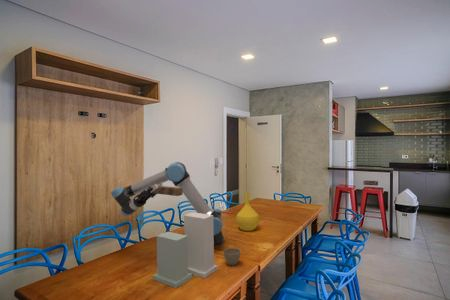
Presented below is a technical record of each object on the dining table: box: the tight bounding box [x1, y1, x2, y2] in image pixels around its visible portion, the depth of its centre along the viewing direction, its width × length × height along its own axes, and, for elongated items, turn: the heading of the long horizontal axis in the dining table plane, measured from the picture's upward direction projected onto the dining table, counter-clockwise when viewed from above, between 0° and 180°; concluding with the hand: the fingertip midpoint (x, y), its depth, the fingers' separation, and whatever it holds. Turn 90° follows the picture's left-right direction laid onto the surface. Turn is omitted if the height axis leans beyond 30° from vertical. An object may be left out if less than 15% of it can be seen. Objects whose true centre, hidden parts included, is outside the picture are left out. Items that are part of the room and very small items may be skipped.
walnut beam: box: [148, 185, 184, 197], centre depth 154 cm, size 24×4×4 cm, turn 56°
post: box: [152, 231, 193, 289], centre depth 136 cm, size 16×12×22 cm
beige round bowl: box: [222, 247, 242, 266], centre depth 153 cm, size 10×10×7 cm
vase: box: [235, 192, 260, 232], centre depth 216 cm, size 18×18×30 cm
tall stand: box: [183, 211, 219, 279], centre depth 145 cm, size 16×12×30 cm
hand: (159, 185), depth 156 cm, fingers closed on walnut beam, 4 cm apart
